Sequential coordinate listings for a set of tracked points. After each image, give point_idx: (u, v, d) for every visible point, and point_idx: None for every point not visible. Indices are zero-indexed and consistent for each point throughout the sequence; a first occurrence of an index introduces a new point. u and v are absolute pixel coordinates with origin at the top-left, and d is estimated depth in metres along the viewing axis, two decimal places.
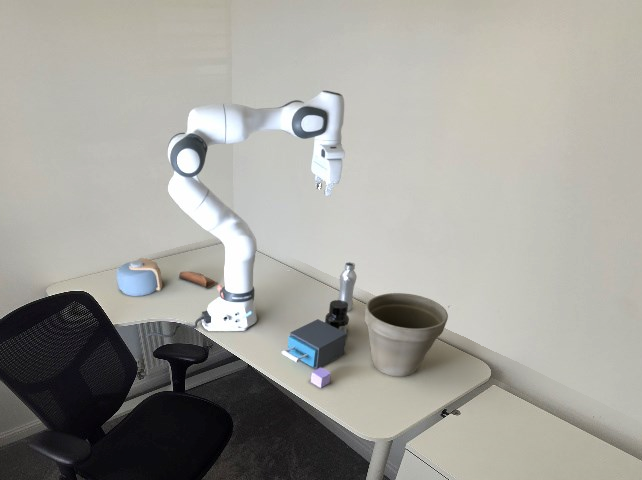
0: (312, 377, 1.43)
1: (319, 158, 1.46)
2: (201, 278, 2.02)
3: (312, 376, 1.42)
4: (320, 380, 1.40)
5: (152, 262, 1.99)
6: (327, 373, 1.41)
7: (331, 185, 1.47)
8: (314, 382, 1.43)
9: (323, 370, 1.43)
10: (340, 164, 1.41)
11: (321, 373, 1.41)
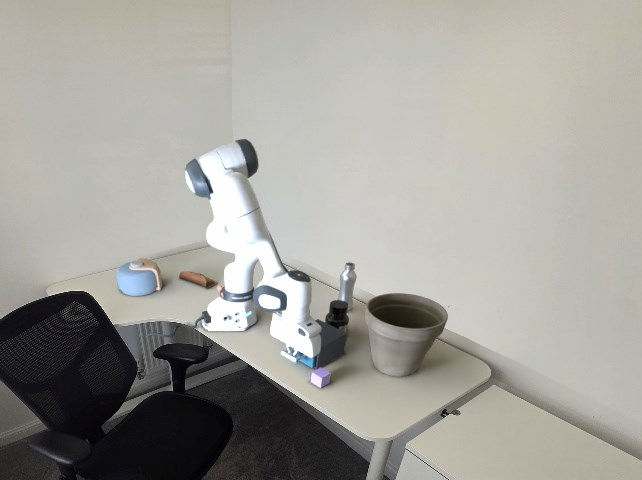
0: (312, 377, 1.43)
1: (292, 332, 1.40)
2: (201, 278, 2.02)
3: (312, 376, 1.42)
4: (320, 380, 1.40)
5: (152, 262, 1.99)
6: (327, 373, 1.41)
7: None
8: (314, 382, 1.43)
9: (323, 370, 1.43)
10: (319, 339, 1.38)
11: (321, 373, 1.41)
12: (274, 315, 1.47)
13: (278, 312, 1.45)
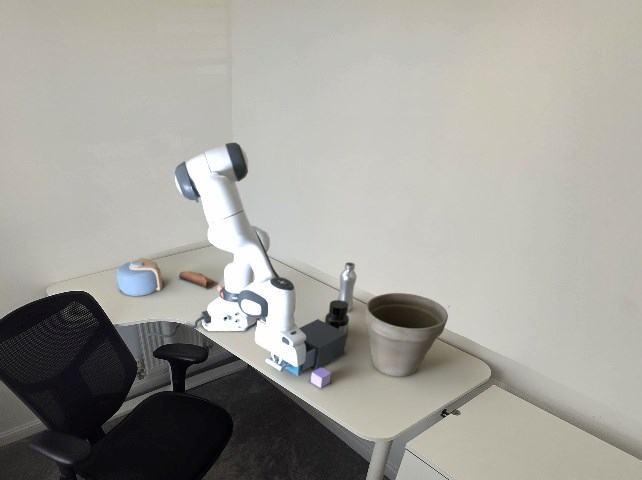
0: (312, 377, 1.43)
1: (276, 341, 1.37)
2: (201, 278, 2.02)
3: (312, 376, 1.42)
4: (320, 380, 1.40)
5: (152, 262, 1.99)
6: (327, 373, 1.41)
7: None
8: (314, 382, 1.43)
9: (323, 370, 1.43)
10: (304, 347, 1.34)
11: (321, 373, 1.41)
12: (258, 323, 1.44)
13: (262, 320, 1.42)
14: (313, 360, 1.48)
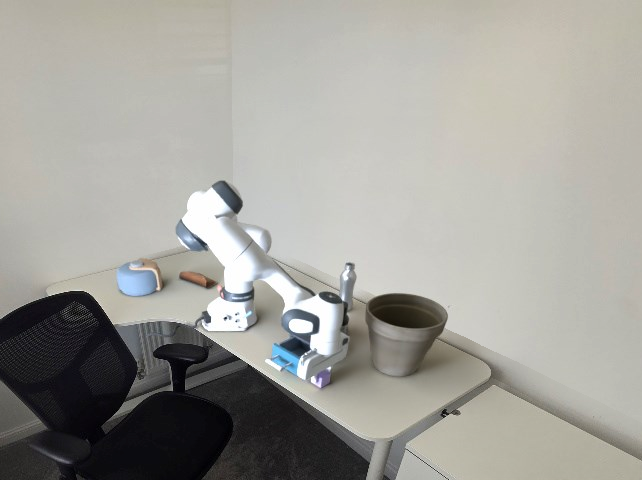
0: None
1: None
2: (201, 278, 2.02)
3: None
4: (320, 380, 1.40)
5: (152, 262, 1.99)
6: (327, 373, 1.41)
7: None
8: None
9: (323, 370, 1.43)
10: None
11: (321, 374, 1.41)
12: (304, 359, 1.31)
13: (308, 352, 1.31)
14: None
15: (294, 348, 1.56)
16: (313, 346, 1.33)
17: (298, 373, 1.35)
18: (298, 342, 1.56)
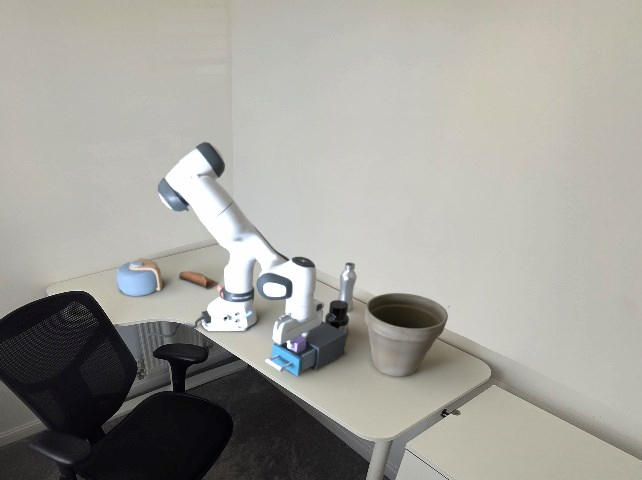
0: None
1: (308, 317, 1.40)
2: (201, 278, 2.02)
3: None
4: (296, 346, 1.44)
5: (152, 262, 1.99)
6: (303, 339, 1.45)
7: None
8: (290, 349, 1.47)
9: (299, 337, 1.47)
10: None
11: (297, 340, 1.45)
12: (279, 323, 1.35)
13: (282, 316, 1.35)
14: (313, 360, 1.48)
15: None
16: (288, 311, 1.37)
17: (273, 337, 1.39)
18: None
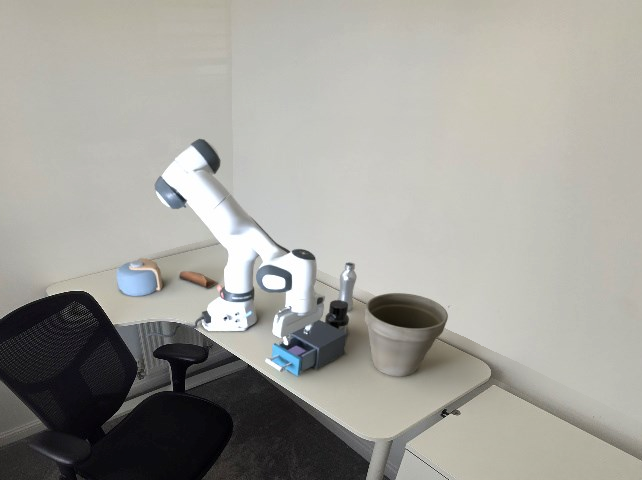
0: None
1: (308, 311, 1.38)
2: (201, 278, 2.02)
3: None
4: None
5: (152, 262, 1.99)
6: (302, 351, 1.48)
7: None
8: None
9: (298, 348, 1.50)
10: None
11: (296, 351, 1.48)
12: (279, 316, 1.34)
13: (282, 309, 1.33)
14: (313, 360, 1.48)
15: None
16: (288, 304, 1.36)
17: (273, 331, 1.37)
18: (298, 342, 1.56)
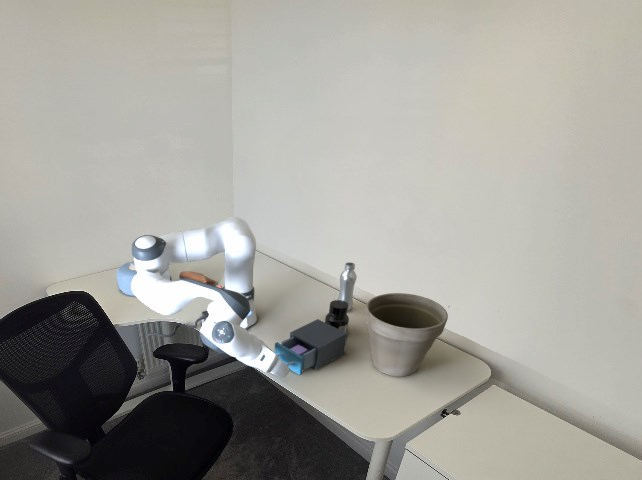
0: None
1: None
2: (201, 278, 2.02)
3: None
4: None
5: None
6: (304, 350, 1.49)
7: None
8: None
9: (300, 347, 1.50)
10: (281, 363, 1.30)
11: (298, 350, 1.48)
12: None
13: None
14: (315, 359, 1.49)
15: None
16: None
17: None
18: (300, 341, 1.56)
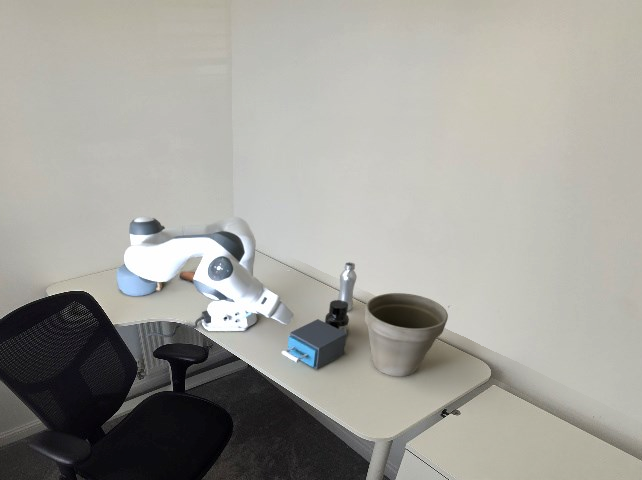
0: None
1: None
2: None
3: None
4: None
5: None
6: None
7: None
8: None
9: None
10: (284, 306, 1.19)
11: None
12: None
13: None
14: None
15: None
16: None
17: None
18: None
